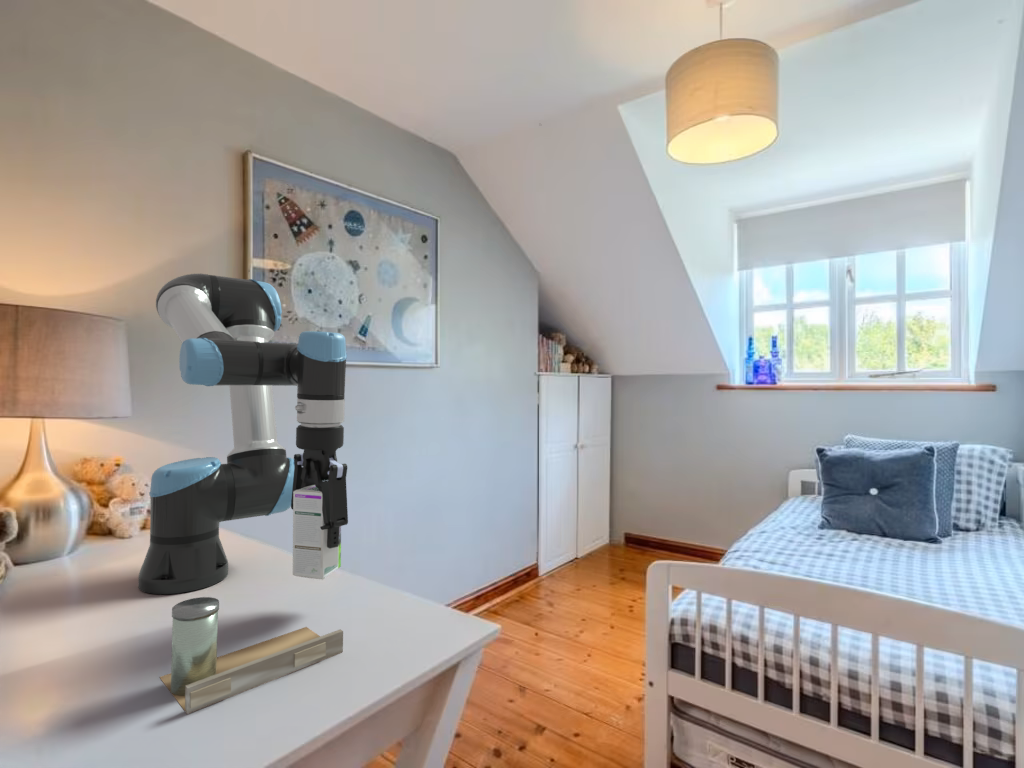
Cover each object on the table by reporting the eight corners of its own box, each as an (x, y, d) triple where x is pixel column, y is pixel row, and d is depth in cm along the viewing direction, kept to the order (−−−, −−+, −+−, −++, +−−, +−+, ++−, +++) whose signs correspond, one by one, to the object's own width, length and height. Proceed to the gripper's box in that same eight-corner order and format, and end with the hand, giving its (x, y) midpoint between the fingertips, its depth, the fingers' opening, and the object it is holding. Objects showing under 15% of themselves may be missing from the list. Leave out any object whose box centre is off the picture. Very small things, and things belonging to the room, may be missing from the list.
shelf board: (159, 686, 70) (159, 654, 70) (306, 634, 85) (306, 607, 85) (187, 725, 63) (188, 689, 63) (343, 660, 78) (344, 631, 77)
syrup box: (323, 580, 88) (325, 492, 87) (290, 576, 89) (292, 489, 88) (341, 567, 93) (343, 484, 93) (310, 563, 95) (312, 481, 94)
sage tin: (163, 684, 69) (166, 605, 69) (208, 668, 73) (210, 593, 72) (177, 701, 65) (180, 618, 65) (223, 684, 69) (225, 605, 69)
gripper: (271, 419, 94) (268, 548, 95) (330, 432, 81) (326, 583, 82) (312, 417, 100) (309, 539, 101) (374, 429, 86) (369, 570, 87)
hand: (316, 558), depth 91 cm, fingers closed on syrup box, 7 cm apart
